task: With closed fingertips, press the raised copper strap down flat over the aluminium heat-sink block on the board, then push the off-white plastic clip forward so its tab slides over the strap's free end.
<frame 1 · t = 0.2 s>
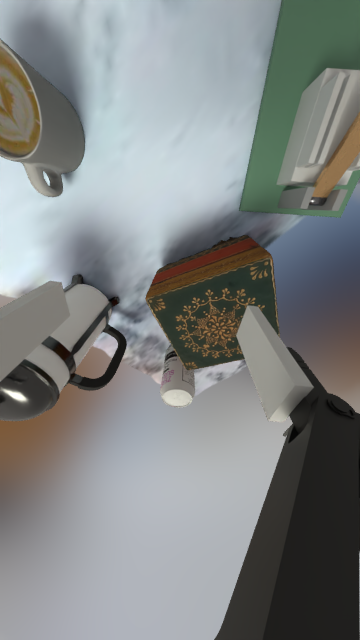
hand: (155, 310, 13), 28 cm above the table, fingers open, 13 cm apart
decorative box: (209, 289, 41), on the table
supplement can: (179, 352, 53), on the table
coffee press: (97, 303, 45), on the table
coffee mug: (55, 147, 29), on the table
board: (325, 98, 25), on the table
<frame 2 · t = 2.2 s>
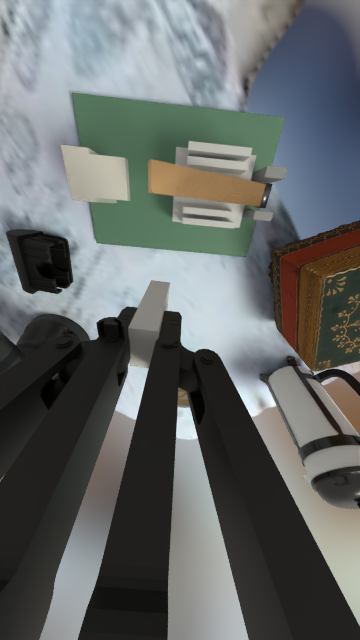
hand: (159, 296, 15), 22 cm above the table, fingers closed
decorative box: (315, 277, 36), on the table
end cap: (53, 258, 35), on the table
strap: (219, 188, 20), point 11 cm above the table, hinge at 30.0°
coffee press: (287, 370, 52), on the table
coffee mug: (189, 365, 51), on the table
board: (175, 191, 29), on the table
clip: (108, 181, 24), point 5 cm above the table, slide at 0.0 cm
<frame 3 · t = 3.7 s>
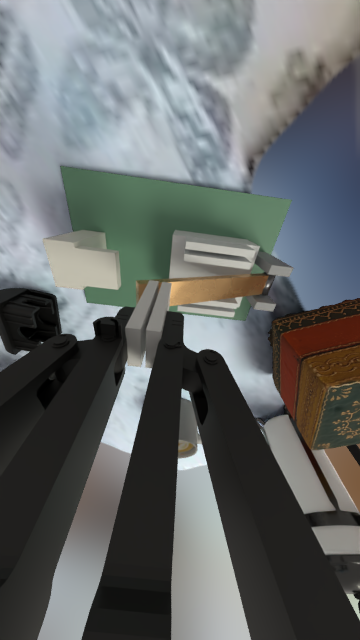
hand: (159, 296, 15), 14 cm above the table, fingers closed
decorative box: (316, 338, 35), on the table
end cap: (40, 311, 33), on the table
strap: (216, 288, 18), point 10 cm above the table, hinge at 27.8°, touching gripper
coffee press: (283, 416, 50), on the table
coffee mug: (183, 408, 50), on the table
board: (172, 257, 27), on the table
clip: (99, 259, 22), point 5 cm above the table, slide at 0.0 cm
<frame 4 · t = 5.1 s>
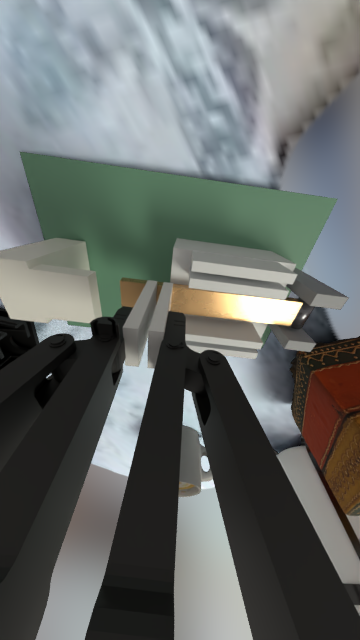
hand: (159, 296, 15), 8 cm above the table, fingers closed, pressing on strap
decorative box: (346, 366, 29), on the table
end cap: (15, 332, 28), on the table
strap: (217, 303, 15), point 7 cm above the table, hinge at 1.1°, touching gripper
coffee press: (299, 445, 44), on the table
coffee mug: (185, 435, 44), on the table
board: (173, 272, 21), on the table
clip: (74, 278, 16), point 5 cm above the table, slide at 0.0 cm
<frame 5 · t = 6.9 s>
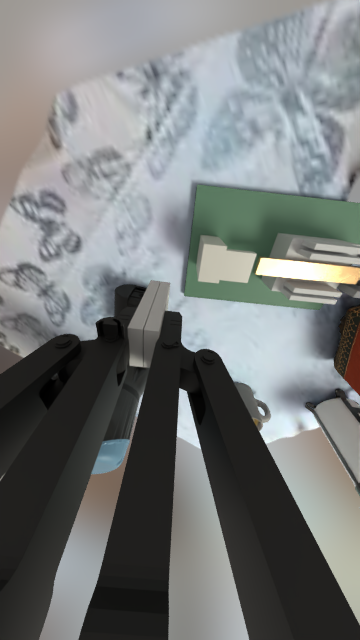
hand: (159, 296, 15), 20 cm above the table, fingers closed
end cap: (137, 304, 39), on the table
strap: (312, 271, 26), point 7 cm above the table, hinge at 1.1°
coffee press: (332, 400, 55), on the table
coffee mug: (240, 393, 55), on the table
board: (266, 256, 32), on the table
clip: (221, 258, 27), point 5 cm above the table, slide at 0.0 cm
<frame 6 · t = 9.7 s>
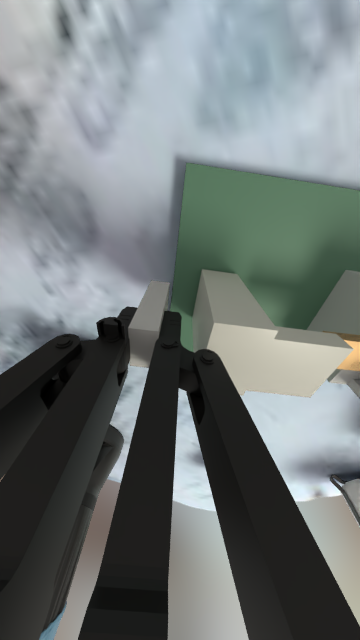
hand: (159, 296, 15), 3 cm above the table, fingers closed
board: (311, 305, 18), on the table
clip: (246, 326, 13), point 5 cm above the table, slide at 0.8 cm, touching gripper
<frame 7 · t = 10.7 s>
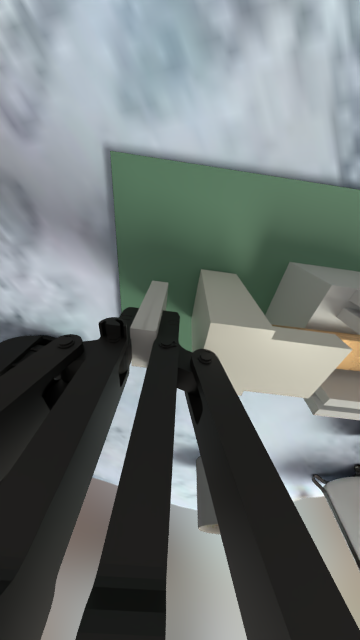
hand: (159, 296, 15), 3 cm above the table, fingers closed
end cap: (56, 359, 24), on the table
coffee press: (349, 473, 40), on the table
coffee mug: (224, 462, 40), on the table
board: (265, 299, 17), on the table
clip: (245, 326, 13), point 5 cm above the table, slide at 5.5 cm, touching gripper, strap
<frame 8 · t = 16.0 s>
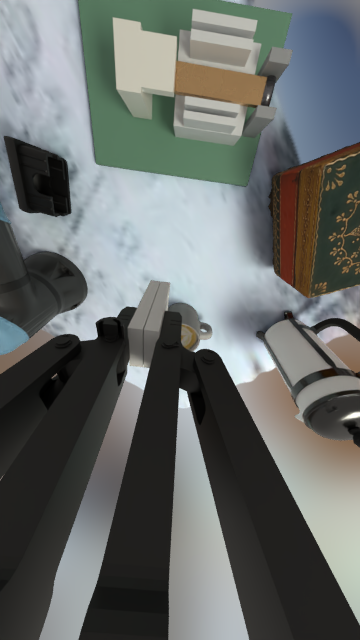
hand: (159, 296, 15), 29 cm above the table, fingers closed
decorative box: (315, 216, 36), on the table
end cap: (52, 184, 35), on the table
strap: (209, 84, 23), point 7 cm above the table, hinge at 1.1°, touching clip
coffee press: (284, 328, 52), on the table
coffee mug: (186, 319, 51), on the table
board: (178, 104, 28), on the table
clip: (151, 81, 24), point 5 cm above the table, slide at 5.5 cm, touching strap
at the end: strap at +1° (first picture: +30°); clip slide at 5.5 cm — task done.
